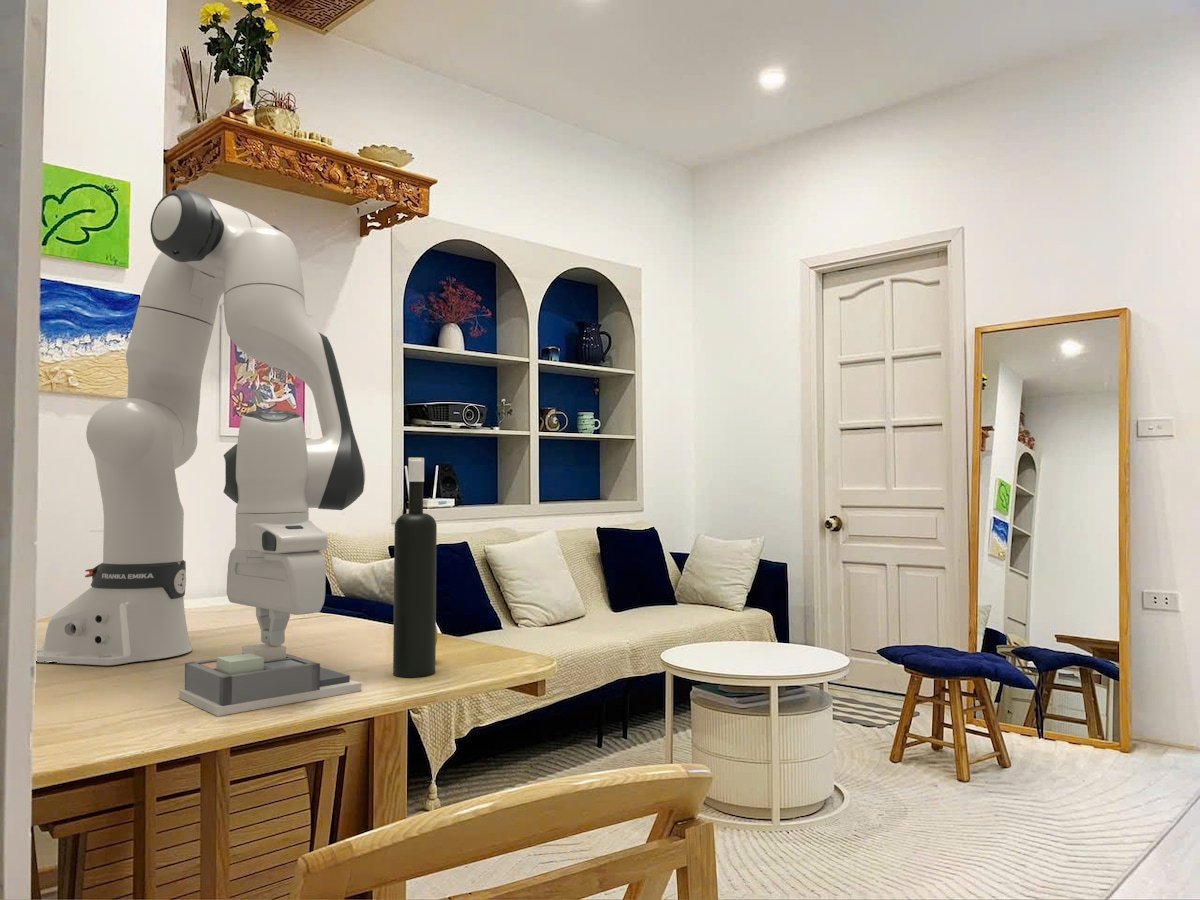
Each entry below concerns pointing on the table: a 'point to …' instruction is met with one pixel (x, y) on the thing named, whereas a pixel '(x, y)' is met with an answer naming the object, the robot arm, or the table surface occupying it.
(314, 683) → the keypad
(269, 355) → the robot arm
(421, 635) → the wine bottle
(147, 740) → the table surface
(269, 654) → the key ivory
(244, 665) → the key sage
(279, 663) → the key slate
